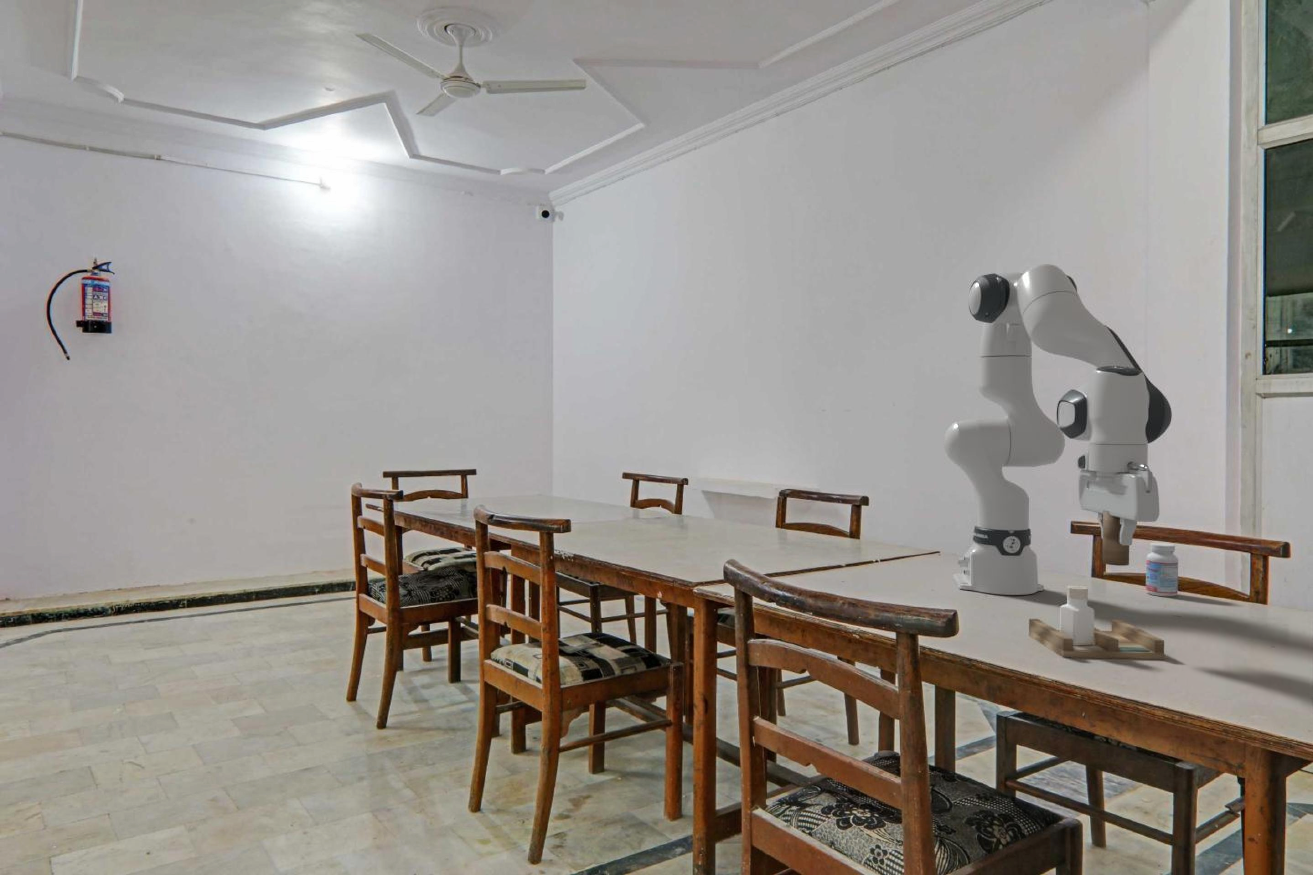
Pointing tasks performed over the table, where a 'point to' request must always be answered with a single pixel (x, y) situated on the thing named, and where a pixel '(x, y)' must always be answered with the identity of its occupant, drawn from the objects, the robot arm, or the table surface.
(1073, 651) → the rack
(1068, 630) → the pepper shaker
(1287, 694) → the table surface
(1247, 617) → the table surface
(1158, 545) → the pill bottle
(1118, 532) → the dowel
